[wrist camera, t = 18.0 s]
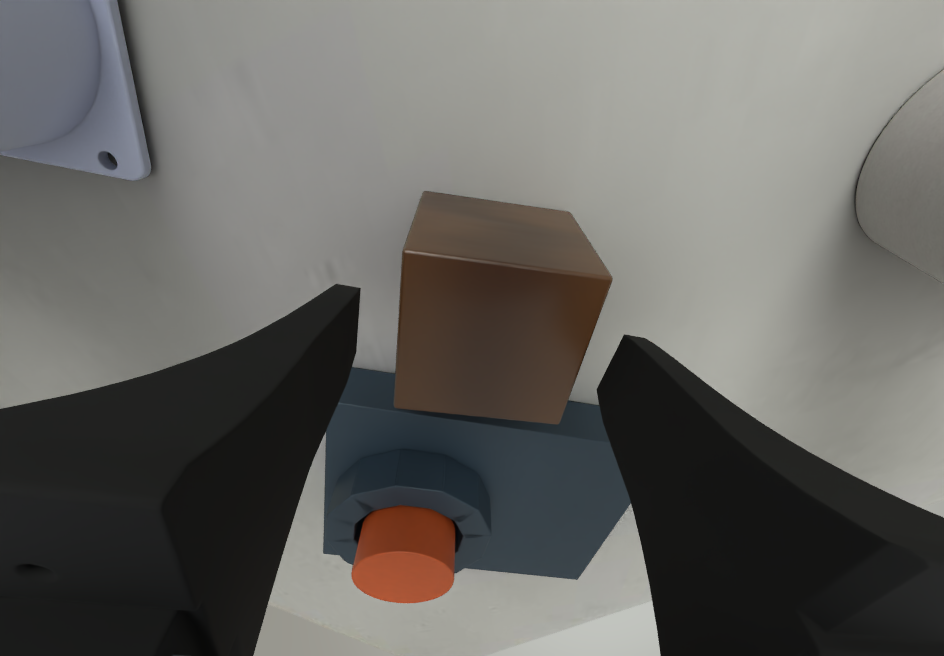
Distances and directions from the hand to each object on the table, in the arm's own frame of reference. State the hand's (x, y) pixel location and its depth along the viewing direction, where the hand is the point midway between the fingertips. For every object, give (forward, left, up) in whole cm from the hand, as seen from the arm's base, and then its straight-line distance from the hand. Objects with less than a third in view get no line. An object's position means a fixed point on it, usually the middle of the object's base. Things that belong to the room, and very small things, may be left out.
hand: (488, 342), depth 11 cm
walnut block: (0, 0, -5) cm, 5 cm away
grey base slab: (+2, -11, -5) cm, 12 cm away
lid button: (-1, -11, -1) cm, 11 cm away
